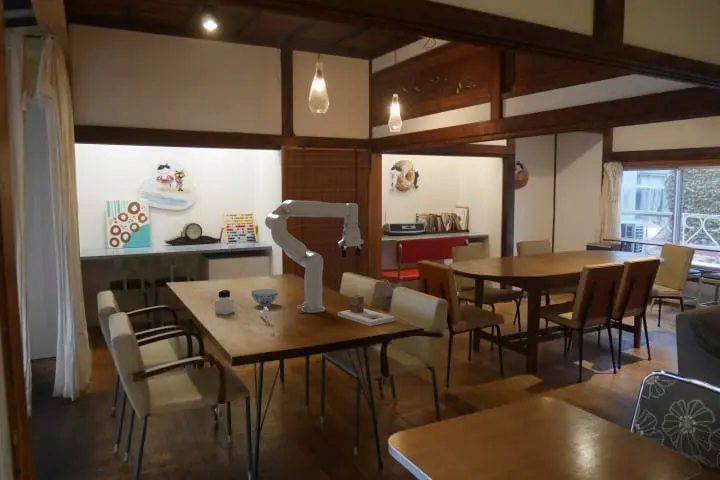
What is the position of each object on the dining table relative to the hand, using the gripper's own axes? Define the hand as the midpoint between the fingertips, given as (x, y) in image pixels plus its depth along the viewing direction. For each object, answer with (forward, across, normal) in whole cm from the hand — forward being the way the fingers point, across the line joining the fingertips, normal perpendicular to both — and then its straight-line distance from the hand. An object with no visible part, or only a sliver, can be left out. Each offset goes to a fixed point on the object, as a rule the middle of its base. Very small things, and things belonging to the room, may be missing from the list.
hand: (351, 256), depth 297 cm
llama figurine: (+29, -54, +1) cm, 61 cm away
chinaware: (+28, -36, +33) cm, 57 cm away
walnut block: (+26, -11, -19) cm, 34 cm away
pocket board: (+28, -11, -26) cm, 40 cm away
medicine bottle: (+28, -62, +30) cm, 75 cm away
